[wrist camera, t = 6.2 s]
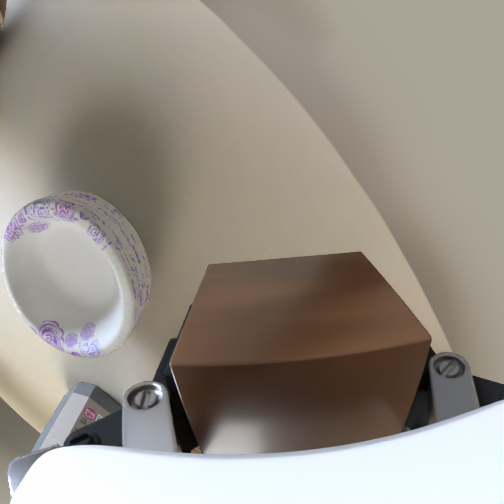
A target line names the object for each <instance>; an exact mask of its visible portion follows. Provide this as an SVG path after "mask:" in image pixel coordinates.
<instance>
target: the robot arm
mask: <svg viewBox="0 0 504 504" xmlns="http://www.w3.org/2000/svg"><path fill="white" fill-rule="evenodd" d="M191 307H192V305H190V308H189V310H188V313H187V315H186V318H185V320H184V322H183V325H182V327H181V330H180V332H179V335H178V337H177V338H172V339H170V341H169V343H168V346H167V348H166V350H165V353H164V355H163V357H162V360H161V362H160V365H159V367H158V369H157V372H156V374H155V377H154V379H153V381H144V382H140V383H137V384H135V385H133V386H131V387H130V388H129V389H128V390H127V391H126V392H125V394H124V396H123V400H122V409H120V410H118V411H116V412H114V413H112V414H110V415H108V416H106V417H103V418H101V419H99V420H97V421H95V422H93V423H91V424H89V425H86V426H84V427H82V428H80V429H78V430H76V431H74V432H72V433H71V434H70V435H69V436H68V437H67V438H66V439H65V441H64V444H63V446H60V445H59V444H55V445H52V446H49V447H47V448H44V449H41V450H38V451H35V452H32V453H30V454H26V455H24V456H20V457H17V458H15V459H13V460H12V461H11V462H10V463H9V465H8V467H7V480H8V485H9V490H10V495H11V499H12V500H11V502H10V504H504V384H500V383H497V382H493V381H490V380H486V379H482V378H480V377H476V376H473V375H472V374H471V370H470V366H469V364H468V362H467V361H466V360H465V359H464V358H463V357H462V356H460V355H458V354H455V353H451V352H442V353H438V354H435V352H434V351H433V349H432V348H431V347H430V348H429V352H428V356H427V360H426V363H425V367H424V370H423V373H422V377H421V380H420V383H419V386H418V389H417V393H416V396H415V398H414V401H413V404H412V407H411V410H410V413H409V415H408V418H407V421H406V423H405V426H406V427H407V429H406V432H403V433H399V434H395V435H391V436H387V437H382V438H378V439H373V440H368V441H363V442H358V443H353V444H347V445H341V446H334V447H328V448H320V449H312V450H303V451H293V452H280V453H264V454H196V453H193V452H192V450H193V449H195V448H196V447H198V446H199V445H198V443H197V440H196V438H195V435H194V433H193V430H192V428H191V425H190V423H189V420H188V417H187V415H186V412H185V409H184V407H183V404H182V401H181V398H180V395H179V393H178V390H177V387H176V384H175V381H174V378H173V375H172V372H171V369H170V366H169V363H170V360H171V357H172V355H173V352H174V350H175V347H176V345H177V342H178V339H179V337H180V334H181V332H182V329H183V327H184V324H185V322H186V319H187V317H188V314H189V312H190V309H191Z"/></svg>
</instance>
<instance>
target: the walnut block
mask: <svg viewBox="0 0 504 504" xmlns="http://www.w3.org/2000/svg"><path fill="white" fill-rule="evenodd" d="M431 340H432V338H431V335H430V334H429V333H428V331H427V330H426V329H425V328H424V326H423V325H422V324H421V323H420V321H419V320H418V319H417V317H416V316H415V315H414V314H413V312H412V311H411V310H410V309H409V307H408V306H407V305H406V304H405V303H404V301H403V300H402V299H401V298H400V296H399V295H398V294H397V293H396V292H395V290H394V289H393V288H392V287H391V286H390V285H389V283H388V282H387V281H386V280H385V279H384V277H383V276H382V275H381V274H380V273H379V272H378V270H377V269H376V268H375V267H374V266H373V265H372V264H371V262H370V261H369V260H368V259H367V258H366V257H365V256H364V255H363V253H362V252H350V253H339V254H328V255H316V256H304V257H293V258H281V259H269V260H257V261H245V262H232V263H220V264H210V265H208V268H207V270H206V272H205V275H204V277H203V280H202V282H201V284H200V287H199V289H198V292H197V294H196V297H195V299H194V302H193V304H192V307H191V309H190V312H189V314H188V317H187V319H186V322H185V324H184V327H183V329H182V332H181V334H180V337H179V339H178V342H177V345H176V347H175V350H174V352H173V355H172V357H171V360H170V363H169V366H170V369H171V372H172V375H173V378H174V381H175V384H176V387H177V390H178V393H179V395H180V398H181V401H182V404H183V407H184V409H185V412H186V415H187V417H188V420H189V423H190V425H191V428H192V430H193V433H194V435H195V438H196V440H197V443H198V445H199V448H200V450H201V452H202V454H264V453H280V452H293V451H303V450H312V449H320V448H328V447H334V446H341V445H347V444H353V443H358V442H363V441H368V440H373V439H378V438H382V437H387V436H391V435H395V434H399V433H402V431H403V428H404V426H405V423H406V421H407V418H408V415H409V413H410V410H411V407H412V404H413V401H414V398H415V396H416V393H417V389H418V386H419V383H420V380H421V377H422V373H423V370H424V367H425V363H426V360H427V356H428V352H429V348H430V344H431Z"/></svg>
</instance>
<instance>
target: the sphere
mask: <svg viewBox="0 0 504 504" xmlns="http://www.w3.org/2000/svg"><path fill="white" fill-rule="evenodd" d="M6 1H7V0H0V33H1V30H2V26H3V22H4V17H5V11H6Z"/></svg>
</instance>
